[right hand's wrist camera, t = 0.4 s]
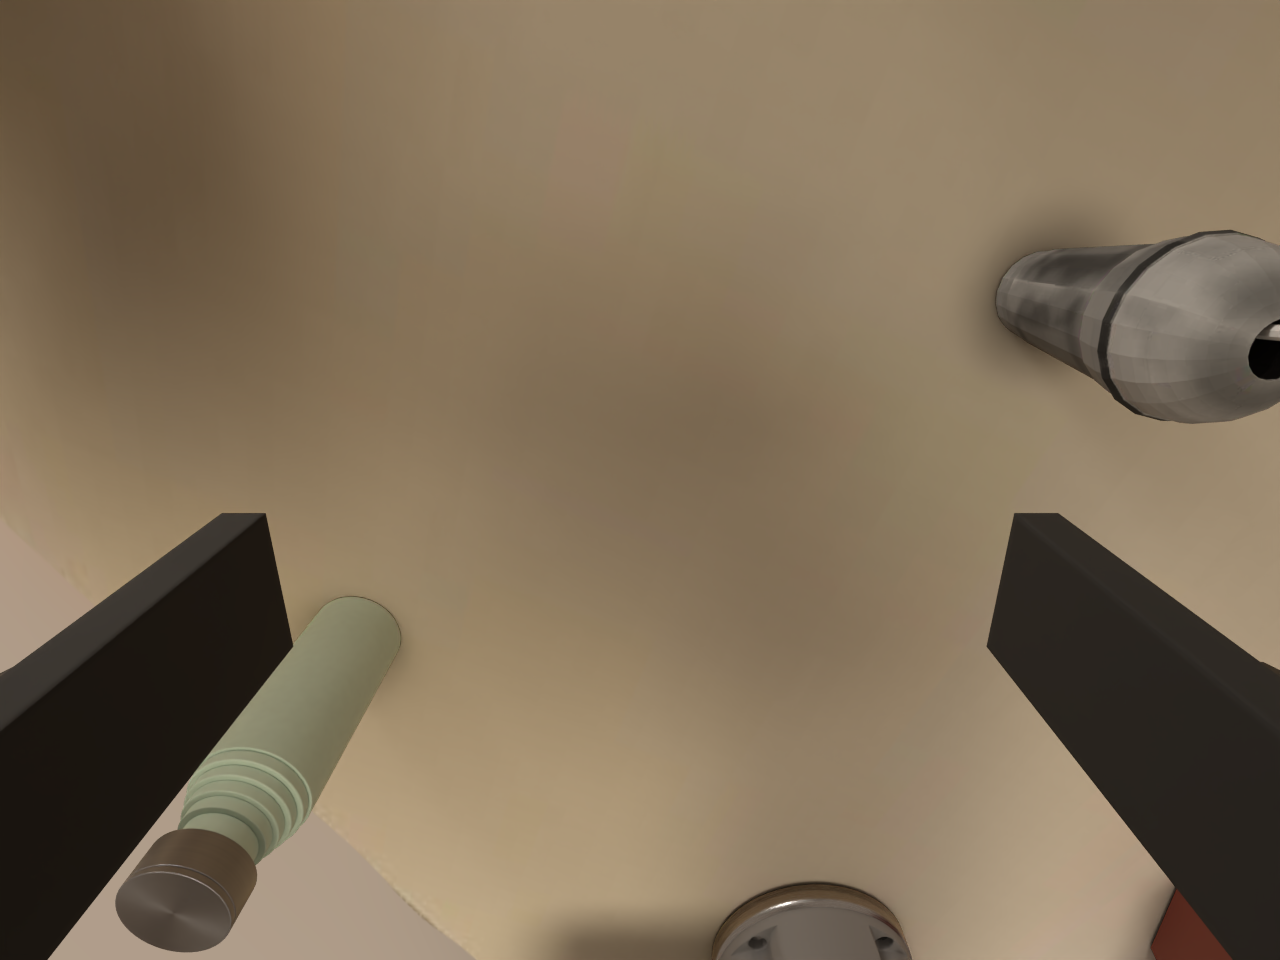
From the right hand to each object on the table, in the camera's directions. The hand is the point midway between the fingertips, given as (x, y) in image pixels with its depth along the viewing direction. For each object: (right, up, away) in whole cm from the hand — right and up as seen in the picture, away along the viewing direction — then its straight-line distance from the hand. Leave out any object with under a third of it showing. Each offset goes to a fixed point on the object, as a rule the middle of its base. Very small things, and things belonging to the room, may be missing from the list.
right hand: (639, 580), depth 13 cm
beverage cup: (+21, +12, +25) cm, 35 cm away
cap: (-18, -15, +15) cm, 28 cm away
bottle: (-18, -8, +33) cm, 39 cm away
